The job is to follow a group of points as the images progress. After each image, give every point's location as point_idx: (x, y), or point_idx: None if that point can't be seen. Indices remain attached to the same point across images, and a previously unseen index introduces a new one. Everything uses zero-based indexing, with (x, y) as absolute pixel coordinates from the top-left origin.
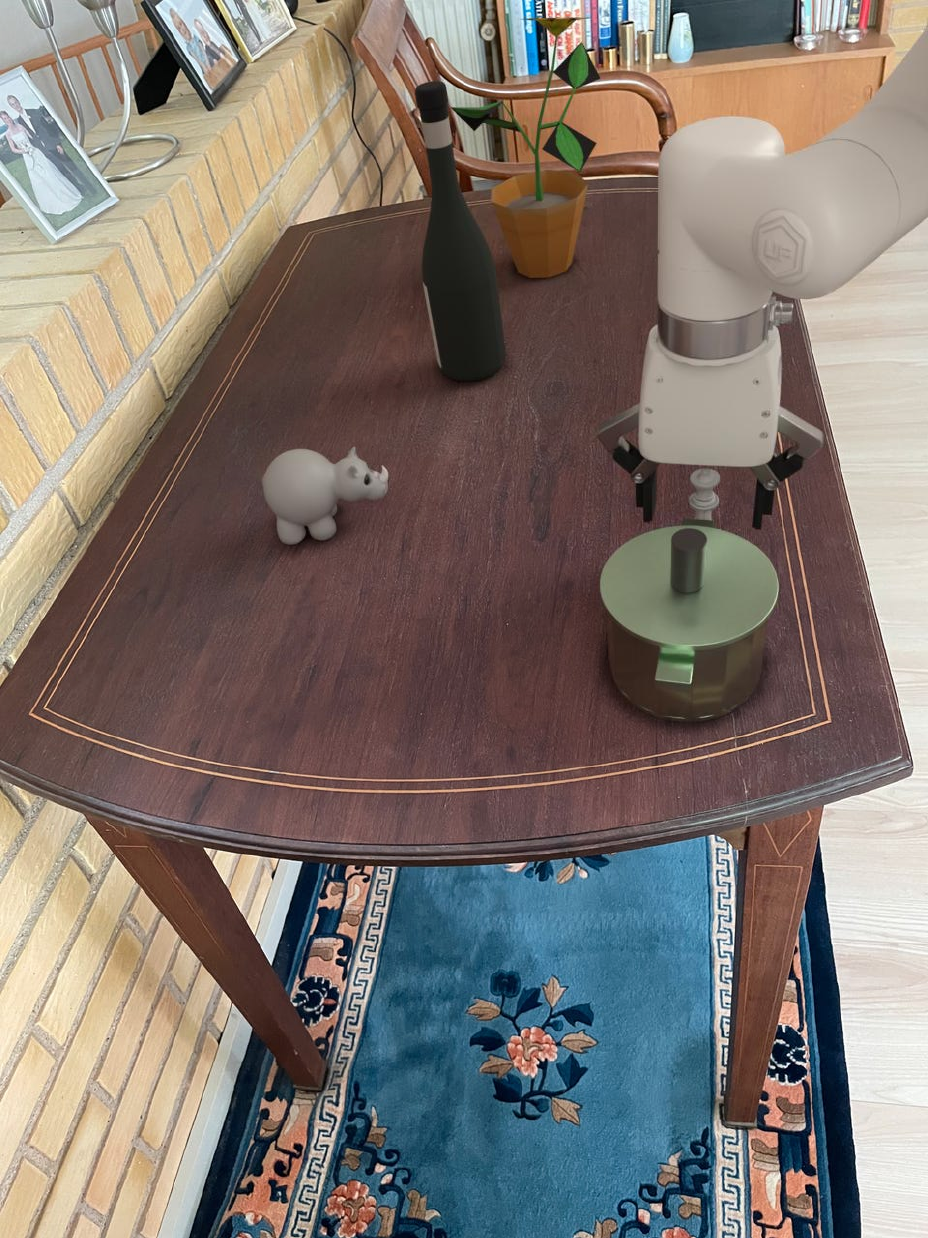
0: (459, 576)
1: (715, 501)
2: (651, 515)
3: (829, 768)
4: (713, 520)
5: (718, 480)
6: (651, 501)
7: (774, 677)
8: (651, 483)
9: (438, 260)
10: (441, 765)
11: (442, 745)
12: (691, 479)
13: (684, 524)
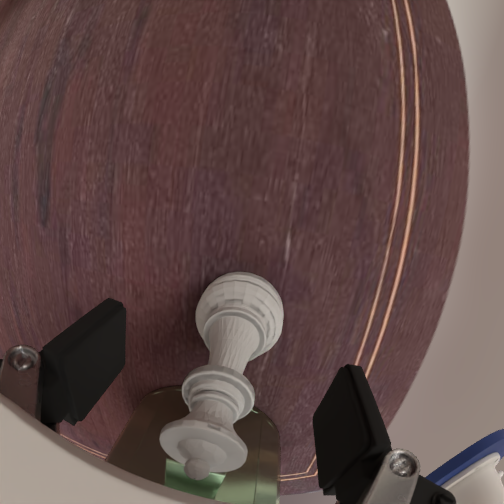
0: (4, 272)
1: (243, 409)
2: (116, 375)
3: (299, 491)
4: (223, 477)
5: (238, 466)
6: (99, 397)
7: (287, 453)
8: (75, 416)
9: None
10: (65, 432)
11: (59, 423)
12: (163, 448)
13: (169, 468)
